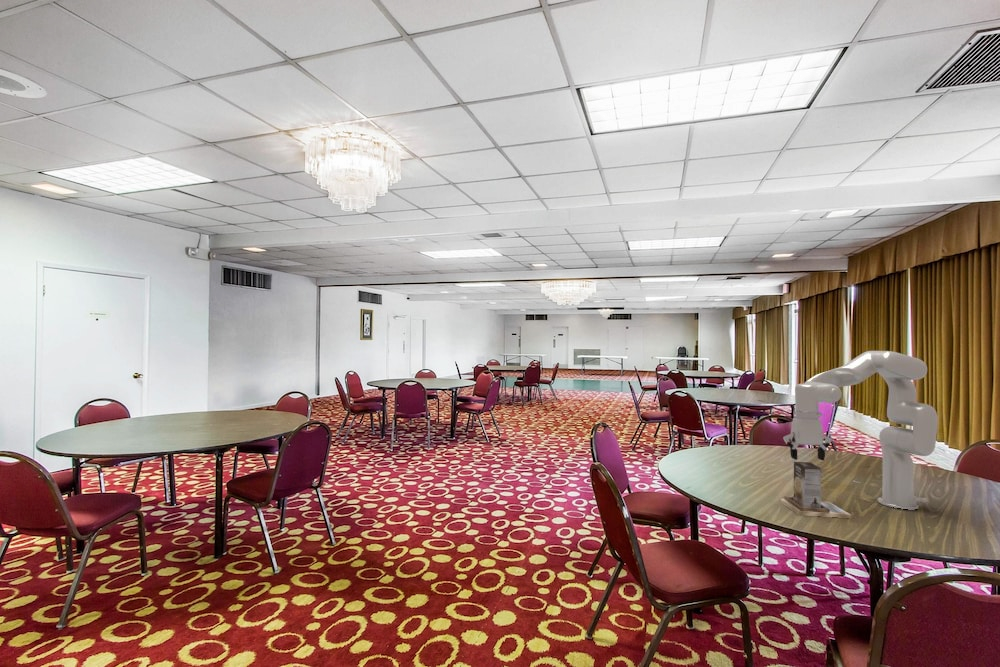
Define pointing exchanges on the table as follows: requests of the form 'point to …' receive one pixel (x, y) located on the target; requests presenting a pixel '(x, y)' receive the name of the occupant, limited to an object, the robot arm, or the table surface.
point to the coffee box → (807, 484)
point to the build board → (815, 509)
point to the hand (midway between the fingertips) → (807, 459)
